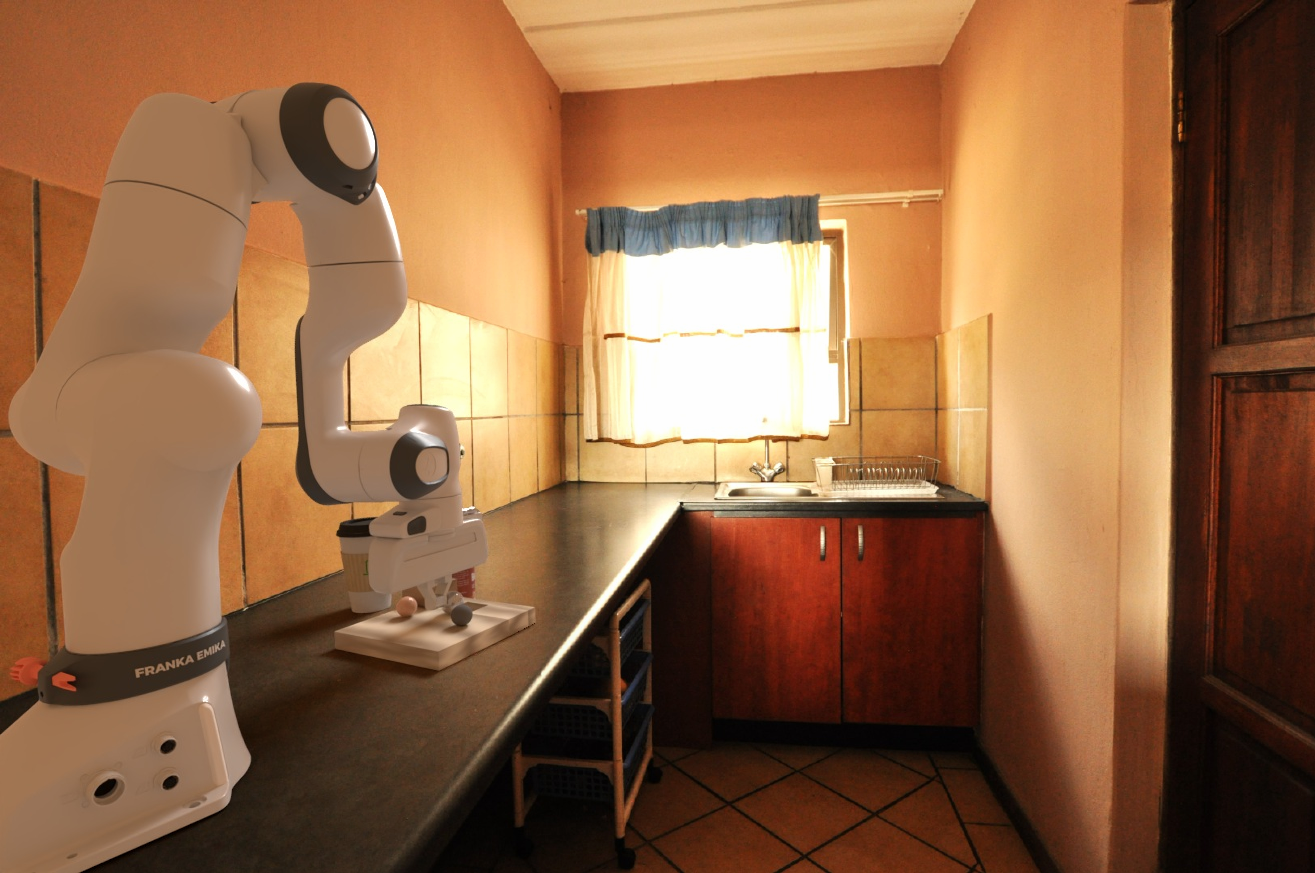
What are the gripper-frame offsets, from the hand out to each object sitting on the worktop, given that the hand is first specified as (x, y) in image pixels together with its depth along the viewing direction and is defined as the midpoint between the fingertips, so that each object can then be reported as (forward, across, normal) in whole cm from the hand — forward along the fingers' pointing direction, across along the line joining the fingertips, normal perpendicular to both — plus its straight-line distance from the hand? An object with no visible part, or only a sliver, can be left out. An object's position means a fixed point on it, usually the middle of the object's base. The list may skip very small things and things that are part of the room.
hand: (436, 607), depth 97 cm
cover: (+2, -6, -8) cm, 10 cm away
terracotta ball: (0, +1, -5) cm, 5 cm away
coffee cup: (+4, -6, -22) cm, 23 cm away
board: (+4, 0, 0) cm, 4 cm away
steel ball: (0, -3, 0) cm, 3 cm away
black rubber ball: (0, +1, +6) cm, 6 cm away
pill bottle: (+4, -14, -10) cm, 18 cm away
